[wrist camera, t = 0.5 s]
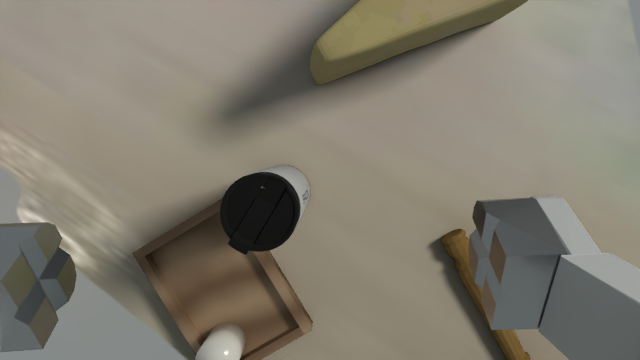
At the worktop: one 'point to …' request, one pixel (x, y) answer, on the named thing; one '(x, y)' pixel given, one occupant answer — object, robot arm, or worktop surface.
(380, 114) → the worktop surface
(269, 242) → the travel mug
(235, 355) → the white egg
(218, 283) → the tray
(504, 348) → the tap handle
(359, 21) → the cheese
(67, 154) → the worktop surface
